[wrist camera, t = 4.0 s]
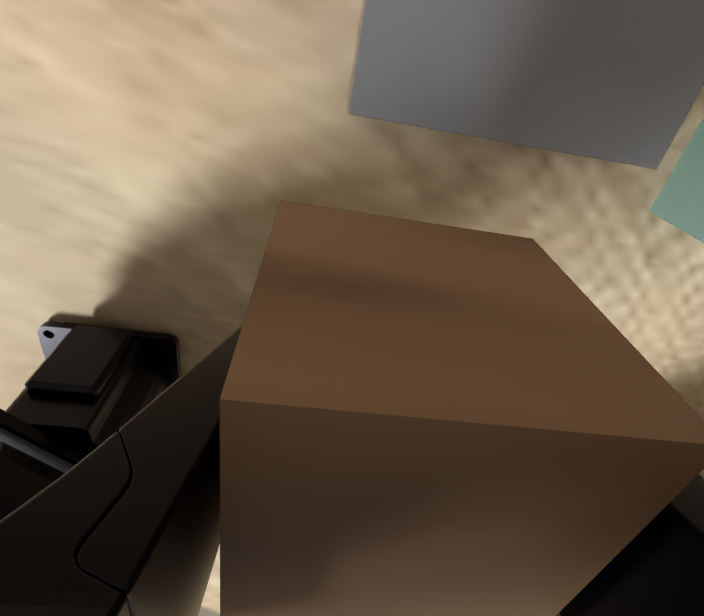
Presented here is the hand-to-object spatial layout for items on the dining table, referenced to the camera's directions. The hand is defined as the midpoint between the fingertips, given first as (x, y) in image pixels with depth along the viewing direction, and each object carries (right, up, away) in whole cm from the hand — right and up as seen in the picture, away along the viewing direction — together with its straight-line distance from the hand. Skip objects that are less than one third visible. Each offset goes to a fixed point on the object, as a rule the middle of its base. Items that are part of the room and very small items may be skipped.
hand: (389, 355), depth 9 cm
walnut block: (0, +1, +1) cm, 1 cm away
